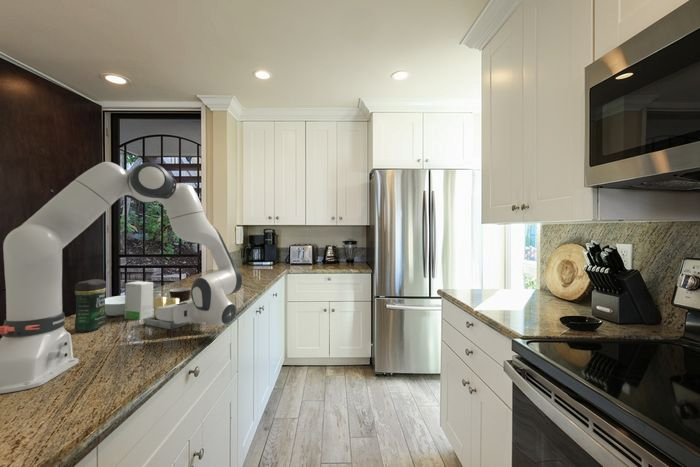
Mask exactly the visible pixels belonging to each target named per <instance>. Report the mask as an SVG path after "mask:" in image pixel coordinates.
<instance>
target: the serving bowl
mask: <svg viewBox="0 0 700 467" xmlns="http://www.w3.org/2000/svg"><path fill="white" fill-rule="evenodd" d="M105 311H106V316H111V317H112V316H113V317H117V316H125V294H124V295H117V296H115V295H114V296H110V297H105Z"/></svg>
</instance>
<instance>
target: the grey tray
mask: <svg viewBox="0 0 700 467" xmlns="http://www.w3.org/2000/svg"><path fill="white" fill-rule="evenodd" d="M145 325H146V326H151V327H156V328H161V329H168V330H174V329H178V328H180V327H184V326H188V325H190V322H188V323H182V324H174V322H173V323H169V322H167V321H164V320H159V321H158V320H154V316H151V317H148V318H144V326H145Z"/></svg>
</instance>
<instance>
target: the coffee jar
mask: <svg viewBox="0 0 700 467" xmlns="http://www.w3.org/2000/svg"><path fill="white" fill-rule="evenodd" d="M106 291H107V282H106V280H104V279H99V278H95V279H93V278H92V279H87V280H85V281H79V282H77V283H76V284H75V287H74V294H75V299H76V302H75V303H76V306H75V320H74V331H76V332H80V333H85V332H90V331H92V332H93V331H97V330H99V329H101V328H102V327H103V326H105V325H107V315H106V311H105V298H106Z"/></svg>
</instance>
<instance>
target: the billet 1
mask: <svg viewBox="0 0 700 467" xmlns="http://www.w3.org/2000/svg"><path fill="white" fill-rule="evenodd" d="M166 299H168V296H166V295H159V296H153V317H154V320H158V321H159V320H160V319H157V318H156V309H157V308H158V307H160V306H166Z"/></svg>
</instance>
